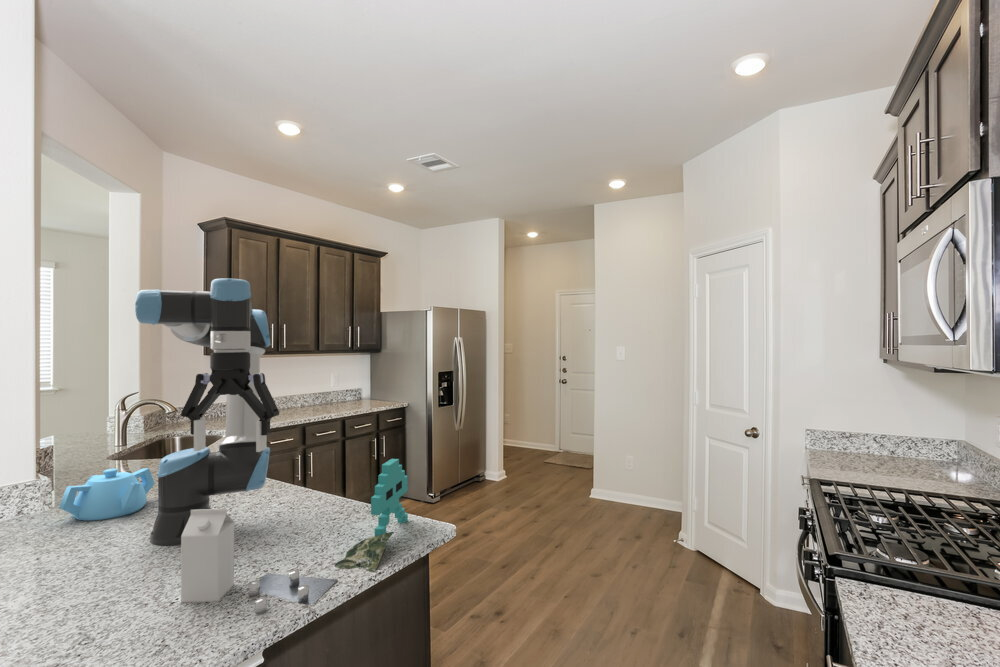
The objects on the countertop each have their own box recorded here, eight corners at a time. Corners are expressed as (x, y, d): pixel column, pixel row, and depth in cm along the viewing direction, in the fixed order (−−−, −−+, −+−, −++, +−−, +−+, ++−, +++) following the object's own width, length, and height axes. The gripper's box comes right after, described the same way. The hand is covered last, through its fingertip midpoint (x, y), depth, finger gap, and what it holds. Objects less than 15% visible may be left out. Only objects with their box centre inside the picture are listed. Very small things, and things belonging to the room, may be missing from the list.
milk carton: (199, 592, 103) (200, 503, 103) (234, 590, 103) (234, 502, 103) (180, 611, 96) (180, 516, 96) (217, 609, 96) (218, 515, 96)
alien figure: (379, 549, 123) (379, 472, 123) (371, 549, 123) (370, 471, 123) (407, 520, 143) (407, 453, 143) (400, 519, 143) (400, 453, 143)
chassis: (210, 625, 91) (210, 604, 91) (267, 579, 108) (267, 562, 108) (292, 634, 88) (292, 612, 88) (337, 586, 105) (337, 568, 105)
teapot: (56, 529, 136) (57, 480, 136) (87, 507, 154) (88, 464, 154) (137, 520, 143) (138, 474, 143) (158, 500, 161) (158, 459, 161)
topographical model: (341, 546, 125) (339, 538, 125) (396, 537, 124) (394, 528, 123) (313, 586, 110) (310, 576, 109) (375, 576, 108) (372, 566, 108)
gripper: (161, 351, 99) (161, 453, 99) (278, 351, 98) (278, 455, 98) (186, 350, 107) (186, 445, 107) (295, 350, 106) (295, 446, 106)
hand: (230, 450), depth 102 cm, fingers open, 13 cm apart
